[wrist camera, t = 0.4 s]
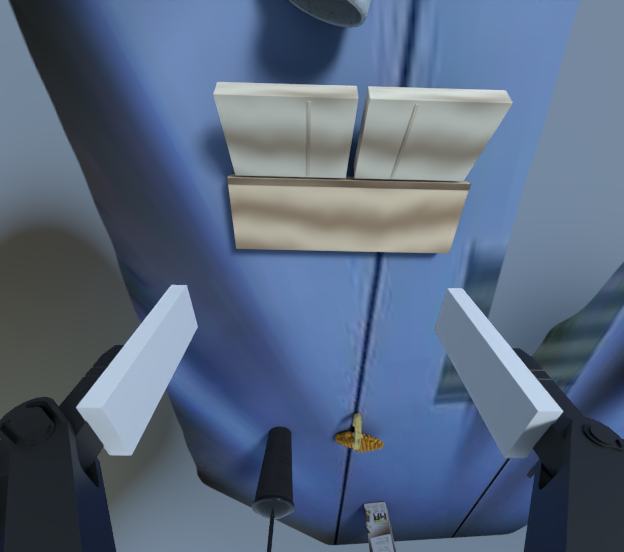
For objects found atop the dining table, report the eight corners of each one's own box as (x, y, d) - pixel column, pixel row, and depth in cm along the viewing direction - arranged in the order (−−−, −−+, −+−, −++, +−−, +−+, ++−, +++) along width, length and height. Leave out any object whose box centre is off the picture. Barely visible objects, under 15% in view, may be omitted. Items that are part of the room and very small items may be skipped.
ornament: (383, 469, 61) (383, 449, 51) (335, 461, 63) (326, 440, 53) (383, 435, 65) (383, 410, 55) (339, 429, 68) (331, 404, 58)
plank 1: (217, 81, 25) (213, 94, 24) (356, 86, 25) (358, 99, 24) (237, 163, 33) (235, 175, 32) (344, 166, 33) (345, 178, 32)
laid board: (231, 173, 34) (226, 177, 32) (462, 179, 34) (471, 183, 32) (239, 242, 38) (236, 249, 36) (442, 246, 39) (449, 253, 37)
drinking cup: (299, 424, 60) (295, 550, 43) (295, 443, 64) (289, 565, 47) (264, 421, 60) (245, 547, 43) (261, 440, 64) (243, 563, 46)
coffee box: (362, 503, 81) (373, 585, 67) (385, 500, 80) (400, 583, 66) (367, 515, 85) (378, 594, 71) (388, 513, 84) (404, 593, 70)
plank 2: (368, 86, 25) (370, 99, 24) (505, 90, 25) (513, 103, 24) (353, 166, 33) (354, 178, 32) (459, 169, 33) (463, 181, 32)
